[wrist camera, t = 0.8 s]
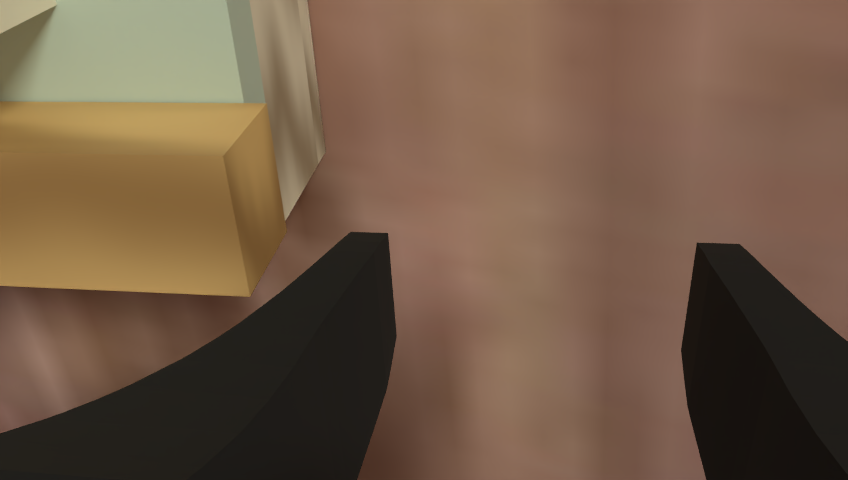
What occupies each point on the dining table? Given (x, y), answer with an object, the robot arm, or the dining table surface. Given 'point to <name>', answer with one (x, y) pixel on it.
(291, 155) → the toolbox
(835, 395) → the robot arm
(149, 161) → the golden block
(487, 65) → the dining table surface
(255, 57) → the lid
